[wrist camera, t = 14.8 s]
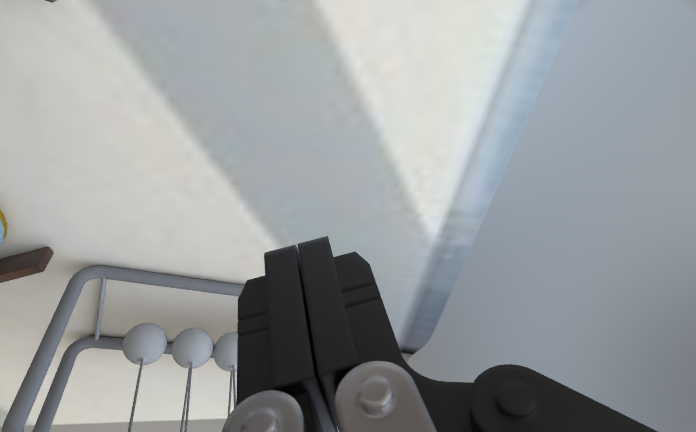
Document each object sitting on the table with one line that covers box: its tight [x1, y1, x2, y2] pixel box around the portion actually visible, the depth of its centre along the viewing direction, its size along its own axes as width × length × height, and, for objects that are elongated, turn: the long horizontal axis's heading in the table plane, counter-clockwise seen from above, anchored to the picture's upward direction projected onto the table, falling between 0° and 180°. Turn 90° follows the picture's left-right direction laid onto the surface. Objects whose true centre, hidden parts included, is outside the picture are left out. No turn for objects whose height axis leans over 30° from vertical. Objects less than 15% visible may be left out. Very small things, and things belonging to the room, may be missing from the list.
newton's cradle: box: [2, 266, 244, 432], centre depth 41 cm, size 30×10×18 cm, turn 69°
